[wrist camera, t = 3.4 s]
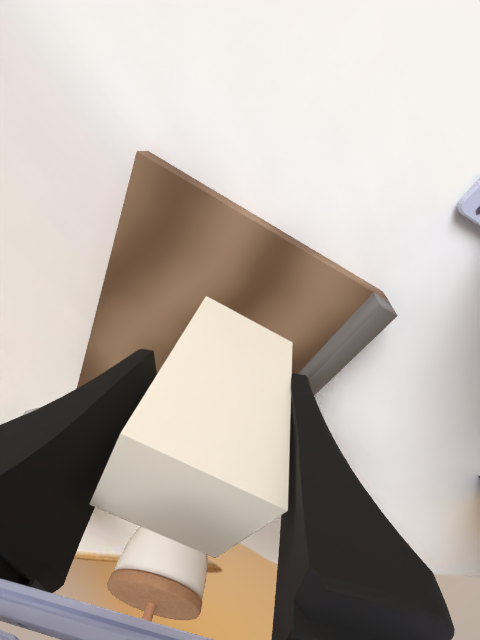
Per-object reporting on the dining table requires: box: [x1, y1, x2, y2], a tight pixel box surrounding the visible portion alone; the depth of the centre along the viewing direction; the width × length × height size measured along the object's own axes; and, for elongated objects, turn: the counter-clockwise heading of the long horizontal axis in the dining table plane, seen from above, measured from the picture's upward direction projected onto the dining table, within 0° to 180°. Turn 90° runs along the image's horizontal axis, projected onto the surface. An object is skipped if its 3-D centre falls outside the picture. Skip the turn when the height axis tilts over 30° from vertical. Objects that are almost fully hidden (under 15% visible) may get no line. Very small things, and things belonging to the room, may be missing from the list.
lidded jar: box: [107, 526, 207, 622], centre depth 33 cm, size 11×11×9 cm
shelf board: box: [77, 151, 397, 395], centre depth 19 cm, size 15×20×3 cm
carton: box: [90, 296, 293, 558], centre depth 11 cm, size 5×4×7 cm
